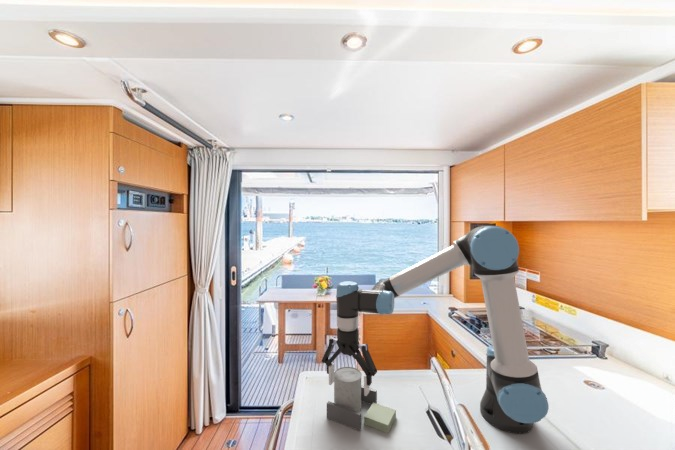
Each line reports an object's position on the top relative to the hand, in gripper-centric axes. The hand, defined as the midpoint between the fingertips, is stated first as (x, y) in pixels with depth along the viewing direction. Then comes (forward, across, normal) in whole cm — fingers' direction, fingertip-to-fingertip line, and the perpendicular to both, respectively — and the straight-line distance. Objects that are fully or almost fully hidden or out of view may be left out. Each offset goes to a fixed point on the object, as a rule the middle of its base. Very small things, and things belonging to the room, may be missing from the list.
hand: (348, 388), depth 98 cm
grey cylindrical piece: (+7, 0, 0) cm, 8 cm away
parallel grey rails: (+7, -1, 0) cm, 7 cm away
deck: (+7, -11, 0) cm, 14 cm away
